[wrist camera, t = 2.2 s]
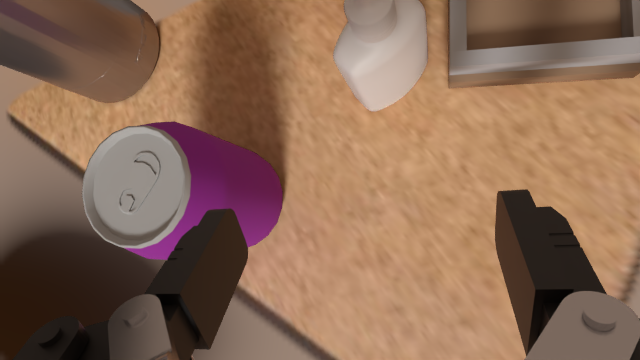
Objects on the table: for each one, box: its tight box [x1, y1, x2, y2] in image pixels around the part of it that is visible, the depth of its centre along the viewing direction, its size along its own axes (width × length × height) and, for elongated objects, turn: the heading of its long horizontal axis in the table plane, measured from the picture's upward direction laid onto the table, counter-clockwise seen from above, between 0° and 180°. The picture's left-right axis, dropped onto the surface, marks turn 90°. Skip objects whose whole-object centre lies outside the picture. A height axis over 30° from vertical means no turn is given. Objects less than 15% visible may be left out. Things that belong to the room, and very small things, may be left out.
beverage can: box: [82, 122, 283, 260], centre depth 26 cm, size 8×8×12 cm
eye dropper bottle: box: [333, 0, 428, 111], centre depth 24 cm, size 4×6×12 cm
